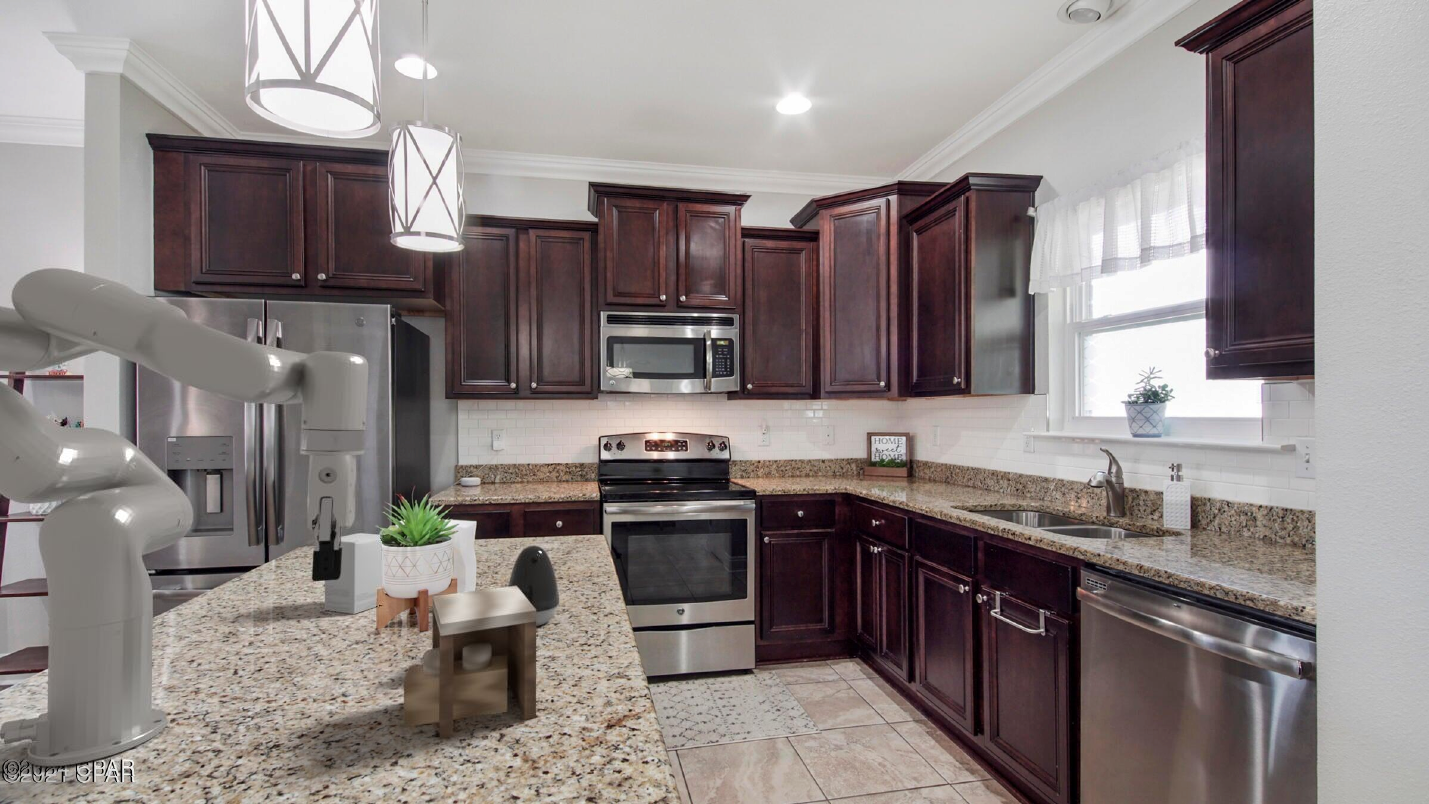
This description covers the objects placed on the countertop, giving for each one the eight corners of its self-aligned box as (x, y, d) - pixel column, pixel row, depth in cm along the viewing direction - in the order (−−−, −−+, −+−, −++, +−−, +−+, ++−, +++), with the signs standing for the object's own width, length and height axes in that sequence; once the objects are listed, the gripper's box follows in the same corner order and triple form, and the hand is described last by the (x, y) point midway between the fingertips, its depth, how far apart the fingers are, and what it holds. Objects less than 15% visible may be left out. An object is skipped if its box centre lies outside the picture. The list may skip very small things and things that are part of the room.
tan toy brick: (506, 695, 93) (506, 637, 93) (507, 712, 88) (507, 650, 88) (409, 709, 89) (409, 648, 89) (403, 728, 83) (404, 663, 84)
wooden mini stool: (440, 739, 80) (440, 624, 80) (432, 695, 93) (432, 596, 93) (536, 717, 86) (536, 610, 86) (516, 679, 98) (516, 585, 98)
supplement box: (390, 603, 138) (391, 534, 139) (354, 615, 130) (354, 542, 130) (360, 598, 142) (360, 531, 142) (322, 610, 133) (323, 539, 134)
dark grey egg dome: (508, 635, 118) (508, 553, 118) (503, 618, 128) (503, 543, 128) (563, 627, 122) (563, 548, 122) (554, 612, 132) (554, 539, 132)
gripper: (361, 446, 81) (354, 591, 80) (367, 441, 94) (361, 564, 94) (291, 445, 77) (283, 596, 77) (308, 440, 91) (302, 568, 90)
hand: (326, 578), depth 85 cm, fingers closed
